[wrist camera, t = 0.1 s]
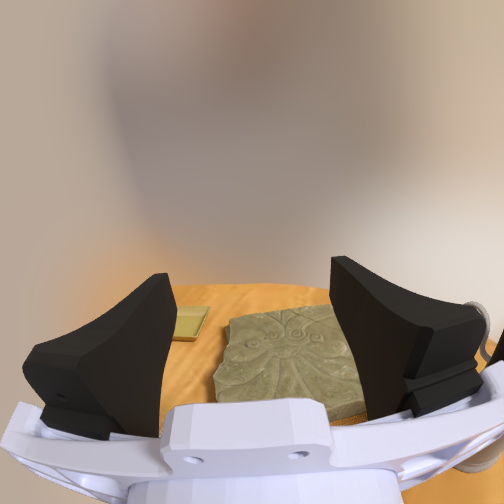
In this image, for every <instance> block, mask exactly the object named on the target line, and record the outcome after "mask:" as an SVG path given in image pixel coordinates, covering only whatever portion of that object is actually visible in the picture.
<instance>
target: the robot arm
mask: <svg viewBox="0 0 504 504" xmlns="http://www.w3.org/2000/svg"><path fill="white" fill-rule="evenodd" d="M329 296H330V300H331V304H332V307H333V310H334V314H335V316H336V318H337V321H338V323H339V325H340V327H341V330H342V332H343V334H344V336H345V338H346V341H347V343H348V345H349V348H350V350H351V352H352V355H353V358H354V361H355V364H356V368H357V371H358V375H359V379H360V383H361V387H362V391H363V396H364V401H365V405H366V411H367V416H368V422H364V423H359V424H355V425H349V426H330V424H329V420H328V415H327V412H326V409H325V406H324V404H322V403H319V402H317V401H314V400H312V399H309V398H294V397H287V398H278V399H268V400H257V401H242V402H221V403H192V404H185V405H178V406H176V407H174V408H173V409H171V410H170V411H169V412H167V413H166V415H165V421H164V426H163V432H162V438H159V409H160V396H161V387H162V379H163V373H164V368H165V364H166V360H167V357H168V353H169V349H170V346H171V342H172V338H173V335H174V331H175V326H176V319H177V311H178V309H177V306H176V302H175V299H174V295H173V292H172V288H171V285H170V281H169V277H168V274H167V273H159V274H154V275H152V276H151V277H149V278H148V279H147V280H146V281H145V282H143V283H142V284H141V285H140V286H139V287H138V288H136V289H135V290H134V291H133V292H132V293H131V294H129V295H128V296H127V297H126V298H124V299H123V300H122V301H121V302H119V303H118V304H117V305H116V306H114V307H113V308H112V309H110V310H109V311H108V312H106V313H105V314H103V315H101V316H100V317H98V318H97V319H95V320H94V321H92V322H90V323H88V324H86V325H84V326H83V327H81V328H79V329H77V330H75V331H73V332H70V333H68V334H66V335H63V336H61V337H58V338H56V339H53V340H50V341H47V342H44V343H40V344H37V345H35V346H34V348H33V349H32V351H31V352H30V354H29V355H28V357H27V359H26V360H25V362H24V364H23V366H22V369H23V373H24V376H25V378H26V380H27V381H28V383H29V384H30V385H31V387H32V388H33V389H34V390H35V392H36V393H37V394H38V395H39V397H40V398H41V399H42V400H43V401H44V402H45V404H46V405H45V407H44V409H41V408H40V407H38V406H36V405H33V404H29V403H26V402H22V401H19V403H18V405H17V407H16V409H15V411H14V413H13V415H12V417H11V419H10V422H9V424H8V426H7V428H6V431H5V433H4V435H3V437H2V440H1V442H0V447H1V448H2V449H4V450H5V451H6V452H7V453H8V454H10V455H11V456H12V457H13V458H15V459H16V460H17V461H19V462H20V463H21V464H22V465H24V466H25V467H27V468H28V469H29V470H30V471H32V472H33V473H35V474H36V475H38V476H40V477H42V478H45V479H47V480H49V481H51V482H54V483H56V484H59V485H61V486H63V487H66V488H68V489H70V490H73V491H76V492H78V493H81V494H83V495H86V496H89V497H92V498H95V499H97V500H100V501H103V502H106V503H109V504H404V503H403V499H402V496H401V492H402V491H404V490H407V489H409V488H411V487H413V486H416V485H418V484H420V483H422V482H424V481H426V480H428V479H430V478H433V477H434V476H436V475H438V474H440V473H442V472H444V471H446V470H448V469H450V468H451V467H453V466H455V465H457V464H459V463H460V462H462V461H464V460H465V459H467V458H469V457H470V456H472V455H474V454H475V453H477V452H479V451H480V450H482V449H483V448H485V447H487V446H488V445H490V444H491V443H493V442H494V441H496V440H497V439H499V438H500V437H501V436H502V435H503V434H504V361H503V360H502V361H499V362H497V363H495V364H493V365H491V366H489V367H487V368H485V369H484V370H482V371H481V372H480V373H479V374H478V372H477V371H476V369H475V368H476V367H477V365H478V363H477V361H476V360H475V358H474V356H475V354H476V352H477V350H478V348H479V346H480V344H481V342H482V340H483V338H484V335H485V332H486V326H487V324H486V320H485V319H484V317H483V316H482V315H481V314H480V313H479V312H478V311H477V309H476V308H475V307H474V306H470V305H462V304H455V303H449V302H444V301H440V300H436V299H432V298H429V297H425V296H422V295H419V294H416V293H413V292H411V291H409V290H406V289H404V288H402V287H399V286H397V285H395V284H393V283H391V282H389V281H387V280H385V279H383V278H382V277H380V276H378V275H376V274H375V273H373V272H371V271H370V270H368V269H366V268H365V267H363V266H361V265H360V264H358V263H357V262H355V261H353V260H352V259H350V258H348V257H346V256H337V257H331V275H330V292H329Z"/></svg>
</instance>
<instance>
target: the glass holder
mask: <svg viewBox="0 0 504 504" xmlns="http://www.w3.org/2000/svg"><path fill="white" fill-rule="evenodd" d="M463 305H470V306H474V307H475V308H476V309H478V310H479V312H480V313H481V315H482V316H483V317H484V319H485V320H486V324H487V326H486V332H485V335H484V338H483V340H482V342H481V345H480V354H481V356H482V357H483V359H484V360H485V361H486V362H488V363H487V364H486V366H485V368H487V367H489V366H491V365H493V364H495V363H497V362H499V361H502V360H503V361H504V330H503V333H502V335H501V337H500V340H499V342H498V344H497V346H496V349H495V351H494V353H493V355H492V357H491V356H489V355H488V354H487V352H486V351H485V344H486V341H487V338H488V335H489V331H490V320H489V316H488V313H487V311H486V309H485V308H484V307H483V306H482V305H481V304H479V303H477V302H467V303H465V304H463ZM485 368H484V369H485ZM503 450H504V434H503V435H502V436H501V437H500V438H499V439H497V440H496V441H494V442H493V443H491V444H490V445H488V446H487V447H485V448H483V449H482V450H480V451H479V452H477V453H475V454H474V455H472V456H470V457H469V458H467V459H465V460H464V461H462V462H460V463H459V464H457V465H455V466H453V467H454V468H456V469H457V470H459V471H462V472H465V473H478V472H481V471H484V470H486V469H488V468H490V467H491V466H492V465H493V464H494V463H495V462H496V461H497V460H498V459H499V457H500V455H501V454H502V451H503Z"/></svg>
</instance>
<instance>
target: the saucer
mask: <svg viewBox="0 0 504 504" xmlns="http://www.w3.org/2000/svg"><path fill="white" fill-rule="evenodd" d="M210 308H211V307H210V306H177V309H178V311H177V319H176V326H175V331H174V335H173V338H172V340H181V341H195V340H196V339H197V337H198V335H199V333H200V331H201V328H202V326H203V324H204V322H205V319H206V317H207V315H208V313H209V311H210Z"/></svg>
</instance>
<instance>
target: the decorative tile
mask: <svg viewBox="0 0 504 504" xmlns="http://www.w3.org/2000/svg"><path fill="white" fill-rule="evenodd" d="M225 331H226V340H227V342H228V345H227V347H226V349H225V350H224V353H223V355H224V357H223V358H224V361H223V362H222V363H221V364H219V368H218V369H217V370H216V372H215V373H214V375H213V380H214V383H215V390H216V400H217V403H221V402H242V401H257V400H268V399H278V398H287V397H294V398H309V399H312V400H314V401H317V402H319V403H322V404H324V406H325V409H326V412H327V415H328V420H329V422H332V421H337V420H341V419H344V418H348V417H352V416H355V415H359V414H362V413H366V412H367V411H366V405H365V401H364V396H363V391H362V387H361V383H360V379H359V375H358V371H357V368H356V364H355V361H354V358H353V355H352V352H351V350H350V348H349V345H348V343H347V341H346V338H345V336H344V334H343V332H342V330H341V327H340V325H339V323H338V321H337V318H336V316H335V314H334V310H333V307H332V305H330V304H326V305H317V306H304V307H299V308H294V309H286V310H278V311H271V312H266V313H256V314H249V315H244V316H241V317H238V318H232V319H230V320H229V325H228V326H226V328H225Z"/></svg>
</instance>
